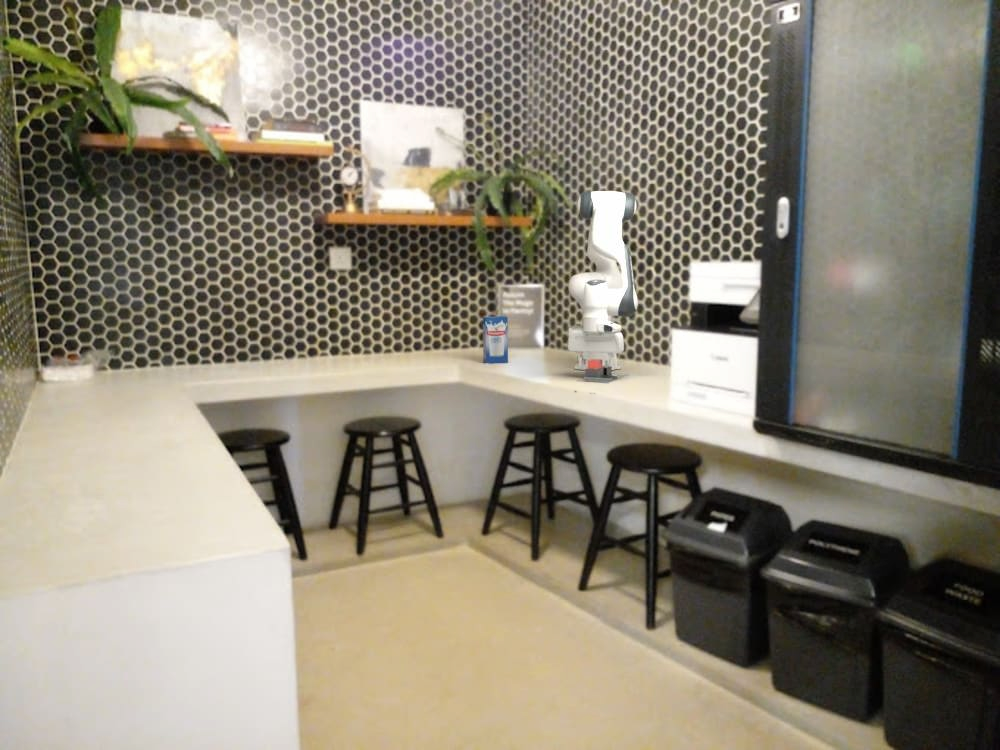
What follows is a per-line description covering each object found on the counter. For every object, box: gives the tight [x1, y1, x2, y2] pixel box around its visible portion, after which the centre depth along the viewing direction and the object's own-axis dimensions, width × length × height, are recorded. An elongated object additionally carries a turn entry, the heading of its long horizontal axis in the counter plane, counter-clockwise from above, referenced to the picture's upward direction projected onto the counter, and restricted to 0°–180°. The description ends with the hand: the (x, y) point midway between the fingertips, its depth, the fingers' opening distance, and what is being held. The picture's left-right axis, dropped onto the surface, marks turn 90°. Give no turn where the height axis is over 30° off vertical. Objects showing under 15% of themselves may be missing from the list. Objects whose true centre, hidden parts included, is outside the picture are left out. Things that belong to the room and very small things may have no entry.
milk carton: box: [482, 315, 509, 364], centre depth 329 cm, size 10×6×20 cm, turn 101°
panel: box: [576, 366, 629, 384], centre depth 270 cm, size 22×12×5 cm, turn 151°
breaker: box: [584, 368, 603, 378], centre depth 268 cm, size 5×5×4 cm
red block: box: [588, 359, 603, 369], centre depth 267 cm, size 4×4×3 cm
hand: (595, 365), depth 267 cm, fingers open, 8 cm apart
